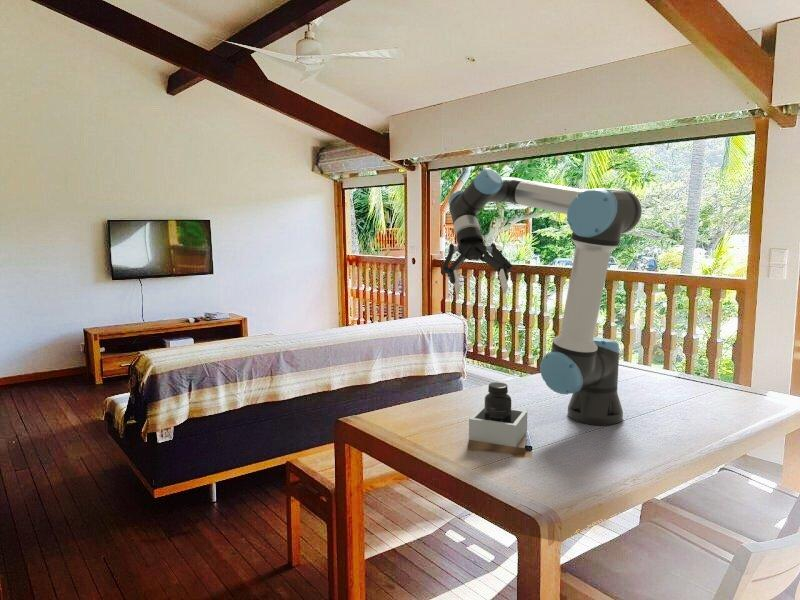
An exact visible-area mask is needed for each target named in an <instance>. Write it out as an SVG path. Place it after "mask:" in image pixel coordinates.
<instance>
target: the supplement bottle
mask: <svg viewBox="0 0 800 600" xmlns="http://www.w3.org/2000/svg"><path fill="white" fill-rule="evenodd" d="M508 391H509V390H508V384H507V383H504V382H498V381H497V382H491V383H489V384H488V390H487V392H488V393H487V394H486V395H485V396H484V405H485V420H491V421H498V422H505V423H511V409H512V398H511V395H509V392H508Z"/></svg>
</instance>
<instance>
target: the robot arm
mask: <svg viewBox="0 0 800 600" xmlns="http://www.w3.org/2000/svg"><path fill="white" fill-rule="evenodd" d="M487 203H511V204H514V205H521V206H526V207H530V208H531V207H532V208H535V209H540V210H545V211H549V212H553V213H554V212H555V213H557V214H559V213H560V214H564V215H566V220H567V221H566V222H567V225H569V228H570V230H571V231H572V232H571V233H572V234H571V242H572V243H573V244H574V246H575V251H574V257H573V262H572V268H571V272H570V279H569V283H568V288H567V290H568V291H567V294H566V300H565V303H564V304H565V306H564V310H563V315H562V320H561V321H562V322H561V328H560V333H559V334H558V335H556V336H555V337H553V338H552V344H551V349H550V352H548V353H547V354H545V356H543V357H542V359H541V361H540V366H539V370H540V375H541V378H542V380H543V381H544V383H545V385H546V386H547V387H548V389H550V390H551V391H553V392H555V393H556V394H559V395H570V394H572V395H571V398H570V400H569V402H568V405H567V417H569V418H570V419H571V420H574V421H576V422H578V423H583V424H585V425H586V424H587V425H593V426H610V425H616V424H617V425H618V424H620V423H621V422H622V421H623V420H624V419H623V417H624V411H623V407H622V404H621V400H620V397H619V394H618V385H619V383H618V381H619V365H620V364H619V362H620V361H619V359H620V355H621V354H620V345H619V342H618V341H616V340H614V339H609V338H604V337H596V336H595V332H596V327H597V323H598V317H599V313H600V307H601V302H602V297H603V293H604V288H605V283H606V278H607V273H608V268H609V263H610V258H611V252H612V251H614V250H615V249H617V248H618V247H619V246H620V241H621V235H623V234H625V233H628V232H630V231H632V230H633V229H634V228H635V227H636V226H637V225H638V224H639V222H640V220H641V217H642V212H643V211H642V210H643V209H642V204H641V201H640V200H639V198H638V197H637V196H636V195H635V194H634V193H632V192H631V191H629V190H625V189H621V188H619V189H618V188H615V189H614V188H604V187H601V188H600V187H596V188H589V189H580V188H573V187H568V186H562V185H557V184H551V183H547V182H546V183H545V182H544V183H543V182H539V181H535V180H527V179H523V178H520V177H504V176H503V177H502V176H501V174H499V172H498V171H496V170H495V169H494V170H493V169H492V168H488V167H487V168H483V169H482V170H481V171H480V172H479V173H478V174H477V175H476V176H475V177H474V178H473V180H472V181H471V182H470V183H469V184H468V185H467V187H466V188H465V189H464V190H462V189H461V190H457V191H456V192H453V193H452V194H451V195H449V198H448V206H449V207H448V208H449V213H450V217H451V220H452V221H451V222H452V225H453V229H454V233H455V236H456V237H455V238H456V243H457V246H456V245H454V244H453V243H450V244H449V247H448V251H447V256H446V258H445V261H444V262H443V266H442V267H441V274H442V275H445V274H447V277H448V278H449V282H450V284H453V286H454V287H453V288H454V292H455V295H459V294H460V292H461V285H460V280H459V277H458V271H457V270H458V268H459V267H460V266H461V264H462V263H464V262H465V261H466V260H467V261H479V260H480V261H482V262H483V263H486V264H487V265H489V266H490V267H491V268H493V269H494V270H495V271H496V272H498V279H499V282H500V285H501V290H502V293H503V294H506V293H507V291H508V289H509V284H508V280H509V275H508V273H510V272H511V270H512V267H513V265H512V263H511V262H510V261H509V260H508V259H507V258H506V257H505V255H503V253H501V252H500V250H499V249H498V248H497V246H496V243H495V242H493V243H490V245H486V244H485V242H484V239H483V234H482V231H481V227H480V224H479V219H478V213H479V212H480V211H481V210H482V209H483V208H484V207H485V206H486V204H487ZM456 252H457V253H458V254H460V255H458V257H457V258H456V259H455V261H453V263H452V264H451V262H452V259H453V255H454V254H456ZM450 264H451V265H450Z"/></svg>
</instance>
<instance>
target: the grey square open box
mask: <svg viewBox="0 0 800 600" xmlns="http://www.w3.org/2000/svg"><path fill="white" fill-rule="evenodd" d="M526 432H528V410H523V409H517V408H511V423H505V422H498V421H491V420H485V404H483V405H481V407H479V409H477V410H476V411H475V413H473V415H471V417H469V418H468V441H469V440H474V441H480V442H486V443H493V444H499V445H505V446H512V447H516V446H517V444H518V443H519V442H520V440H521V439H522V437H523V436H524V435H525V433H526Z"/></svg>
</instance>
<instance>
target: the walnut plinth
mask: <svg viewBox="0 0 800 600" xmlns="http://www.w3.org/2000/svg"><path fill="white" fill-rule="evenodd" d="M527 432H528V431H527ZM527 432H526V433H527ZM526 433H525V435H524V436H523V437H522V439H521V440H520V442H519V443H518V444H517V446H516V447H512V446H505V445H499V444H493V443H486V442H480V441H474V440H469V439H468V442H467V450H468V451H479V452H489V453H491V452H493V453H501V454H503V453H504V454H514V455H526V449H525V446H526V445H527V436H526ZM527 434H528V433H527Z"/></svg>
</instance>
